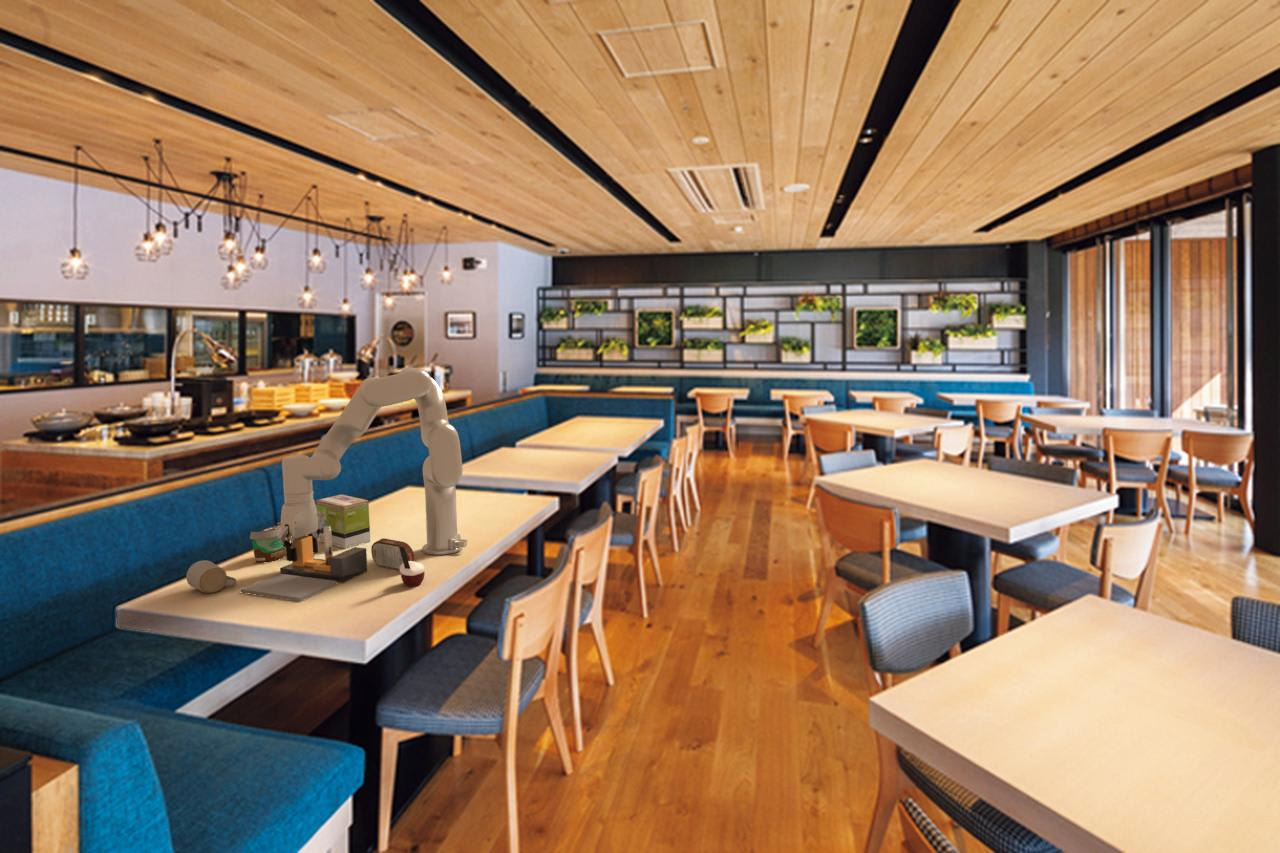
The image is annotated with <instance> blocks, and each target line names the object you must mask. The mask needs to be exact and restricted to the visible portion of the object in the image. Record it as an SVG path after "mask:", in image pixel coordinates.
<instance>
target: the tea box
mask: <svg viewBox="0 0 1280 853" xmlns="http://www.w3.org/2000/svg"><path fill="white" fill-rule="evenodd" d="M315 505H316V509H317V516H318V520H319V521H321V522H322V523H323V526H322V528H321V532H320V534H319V538H318V541H319V542H321V543H324V530H323V527H325V526H331V536H332V546H334V547H339V548H341V549H343V550H346V548H347V549H351V548H354V547H357V546H360V545H359V544H361V545H363V544H362V543H364V544H366V542H367V543H370V542H371V525H370V509H369V506H370V504H369V500H367V499H363V498H359V497H354V496H349V495H347V494H337V495H333V496H329V497H325V498H320V499H316V500H315ZM369 541H370V542H369ZM356 545H357V546H356ZM353 546H354V547H353ZM350 547H351V548H350Z"/></svg>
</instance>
